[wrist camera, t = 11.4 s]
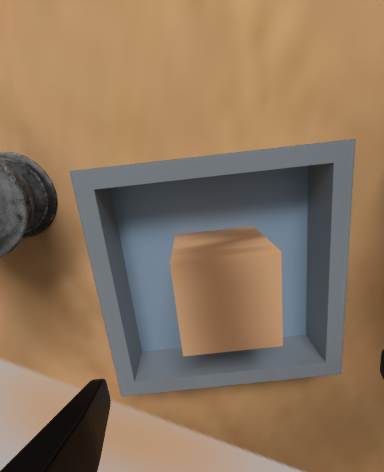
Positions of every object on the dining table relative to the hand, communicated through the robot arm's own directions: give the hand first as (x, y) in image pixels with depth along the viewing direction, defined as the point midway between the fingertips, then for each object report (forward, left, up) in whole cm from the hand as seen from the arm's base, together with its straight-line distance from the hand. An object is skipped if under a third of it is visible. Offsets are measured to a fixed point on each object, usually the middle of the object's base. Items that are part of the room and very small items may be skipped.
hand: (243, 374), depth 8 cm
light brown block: (0, 0, -9) cm, 9 cm away
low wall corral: (0, 0, -9) cm, 9 cm away
